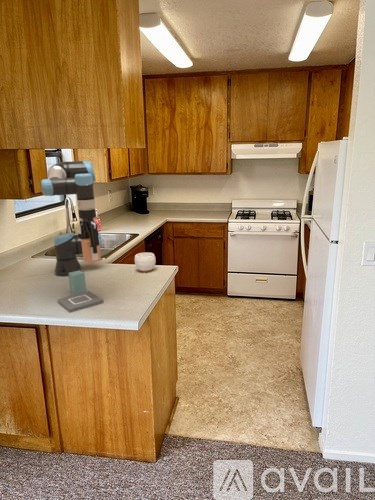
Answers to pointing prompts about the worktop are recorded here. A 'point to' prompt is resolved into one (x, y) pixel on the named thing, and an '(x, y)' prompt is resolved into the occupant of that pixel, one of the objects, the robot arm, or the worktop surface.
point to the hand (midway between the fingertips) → (91, 258)
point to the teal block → (77, 282)
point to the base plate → (79, 301)
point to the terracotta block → (89, 251)
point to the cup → (145, 261)
